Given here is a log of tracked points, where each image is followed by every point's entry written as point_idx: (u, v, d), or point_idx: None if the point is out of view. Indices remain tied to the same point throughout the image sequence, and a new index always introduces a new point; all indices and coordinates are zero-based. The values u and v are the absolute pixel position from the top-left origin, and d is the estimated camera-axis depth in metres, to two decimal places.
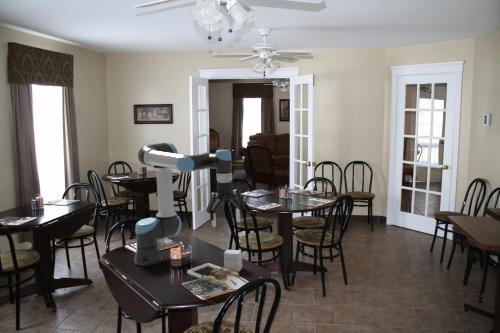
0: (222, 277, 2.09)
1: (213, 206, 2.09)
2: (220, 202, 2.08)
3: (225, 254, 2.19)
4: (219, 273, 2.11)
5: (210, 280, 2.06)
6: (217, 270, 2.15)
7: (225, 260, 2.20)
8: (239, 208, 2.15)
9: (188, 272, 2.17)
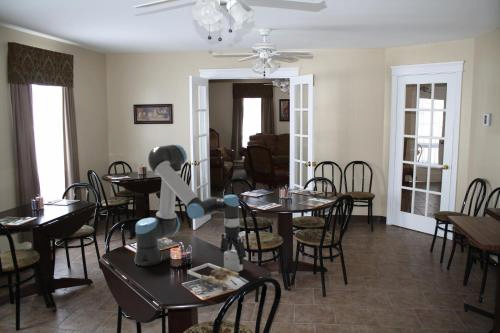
0: (222, 277, 2.09)
1: None
2: (227, 244, 2.21)
3: (225, 254, 2.19)
4: (219, 273, 2.11)
5: (210, 280, 2.06)
6: (217, 270, 2.15)
7: (225, 260, 2.20)
8: None
9: (188, 272, 2.17)
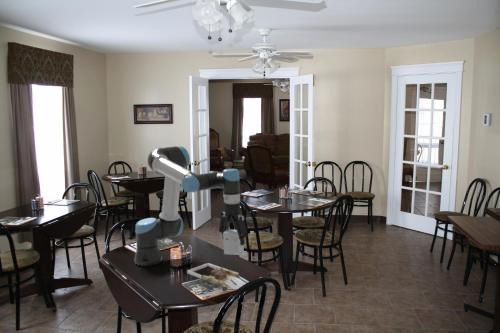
0: (222, 277, 2.09)
1: None
2: (226, 223, 2.02)
3: (225, 234, 2.00)
4: (219, 273, 2.11)
5: (210, 280, 2.06)
6: (217, 270, 2.15)
7: (225, 240, 2.00)
8: (239, 237, 1.97)
9: (188, 272, 2.17)
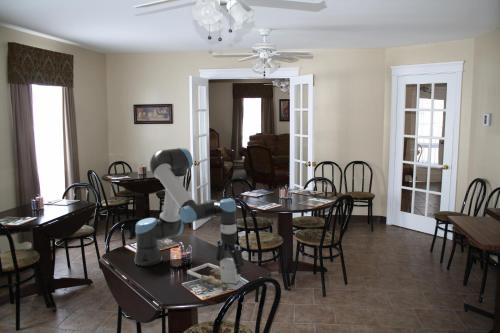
0: None
1: None
2: (223, 252, 2.05)
3: (221, 263, 2.03)
4: (218, 273, 2.11)
5: (210, 280, 2.06)
6: (216, 270, 2.15)
7: (221, 269, 2.04)
8: (236, 266, 2.01)
9: (188, 272, 2.17)
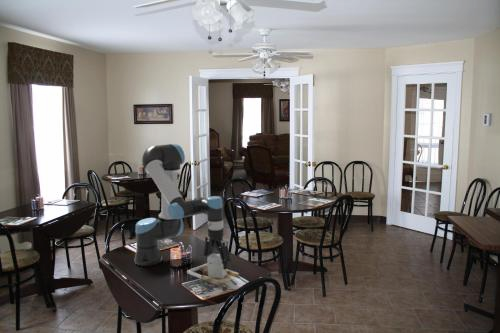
0: None
1: None
2: (210, 248, 2.12)
3: (208, 258, 2.10)
4: (207, 270, 2.17)
5: (210, 280, 2.06)
6: (206, 267, 2.21)
7: (209, 264, 2.10)
8: None
9: (188, 272, 2.17)
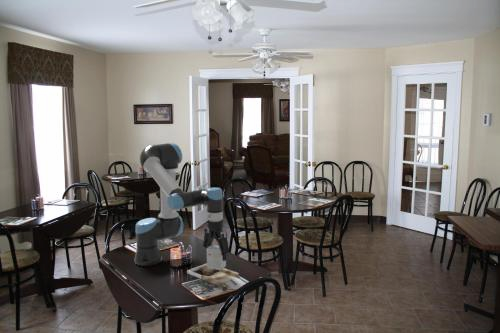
0: (209, 274, 2.15)
1: None
2: (210, 239, 2.11)
3: (208, 249, 2.09)
4: (207, 270, 2.17)
5: (210, 280, 2.06)
6: (206, 267, 2.21)
7: (208, 256, 2.10)
8: None
9: (188, 272, 2.17)
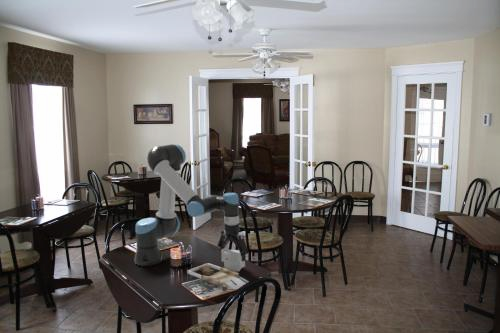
0: (209, 274, 2.15)
1: None
2: (226, 241, 2.21)
3: (225, 254, 2.19)
4: (207, 270, 2.17)
5: (210, 280, 2.06)
6: (206, 267, 2.21)
7: (225, 260, 2.20)
8: (241, 254, 2.15)
9: (188, 272, 2.17)
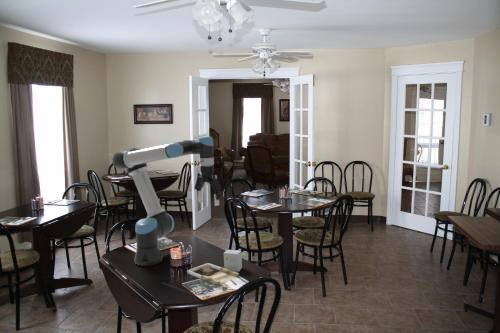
0: (209, 274, 2.15)
1: None
2: (201, 182, 2.36)
3: (225, 254, 2.19)
4: (207, 270, 2.17)
5: (210, 280, 2.06)
6: (206, 267, 2.21)
7: (225, 260, 2.20)
8: (215, 193, 2.29)
9: (188, 272, 2.17)
